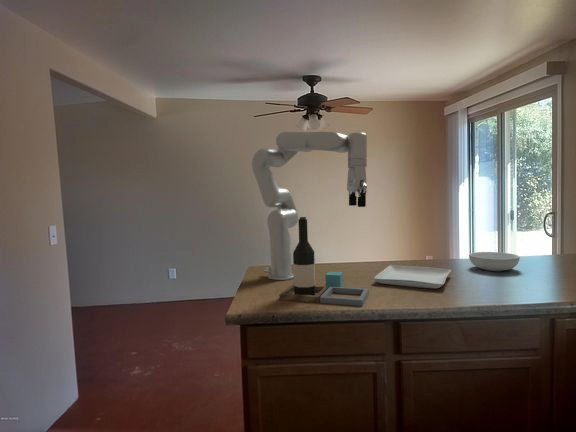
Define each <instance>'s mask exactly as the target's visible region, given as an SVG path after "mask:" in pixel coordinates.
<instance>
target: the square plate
mask: <svg viewBox="0 0 576 432" xmlns="http://www.w3.org/2000/svg"><path fill="white" fill-rule="evenodd" d="M451 272H452V269H450V268H449V269H448V268H438V267H429V266H417V265H397V264H396V265H395V264H394V265H388V266H387V267H386V268H384V269H383V270H382V271H380V272H378V273H377V274H376V275H375V276H374V277H373V280H374V281H375V282H377V283H379V284H383V285H388V286H389V285H390V286H391V285H392V286H399V287H411V288H419V289H436V290H437V289H439V288H441V287H442V286H443V285H444V284H445V283H446V280H447V277H448V276H449V274H450V273H451Z"/></svg>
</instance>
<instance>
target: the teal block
mask: <svg viewBox="0 0 576 432" xmlns="http://www.w3.org/2000/svg"><path fill="white" fill-rule="evenodd" d="M325 286H329V287H330V286H331V287H344V286H345V285H344V272H343V271H328V272H326V273H325Z"/></svg>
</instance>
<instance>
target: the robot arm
mask: <svg viewBox="0 0 576 432" xmlns="http://www.w3.org/2000/svg"><path fill="white" fill-rule="evenodd" d="M275 144H276V146H277V147H278V148H269V147H263V148H260V149H258V150H257V151H256V152H255V153H254V155H253V157H252V160H251V169H252V172H253V174H254V178H255V179H256V182H257V183H256V184H257V185H258V188H259V192H260V195H261V197H262V198H261V199H262V201H263V204H264V205H265V206H266V207H268V208H271V209H272V208H273V209H274V208H276V209H274V210H272V211H271V212H270V213H269V214H268V216H267V220H266V221H267V222H266V224H267V228H268V235H269V246H270V247H269V252H270V253H269V254H270V267H263V269H262V270H263V272H264V273H268V275H267V278H268V279H269V280H273V281H286V280H292V279H294V272H292V250H291V246H292V245H291V244H292V243H291V235H290V231H289V229H291V228H294V227H295V226H296V225H297V224H298V223H299V222H298V220H299V214H298V211H297V207H296V204H295V202H294V199H293V196H292V194H291V192H290V191H289V190H288V189H287V188H285V187H283V186H279V185H278V183H277V180H276V177H275V175H274V173H273V172H272V170H271V169H270V168H281V167H283V166H285V165H286V164H287V163H288V162H289V161H290V160H291V159H293V157H295V155H297V153H300V152H301V153H302V152H304V153H309V152H310V153H311V152H312V151H325V152H327V151H328V152H333V153H334V152H336V153H340V154H343V153H347V170H348V171H347V180H346V181H347V183H346V190H347V191H348V206H349V207H351V206H355V207H356V206H357V207H358V208H365V207H366V206H367V205H366V204H367V202H366V201H367V200H366V198H367V188H368V185H367V170H366V168H367V165H368V164H367V162H368V157H367V156H368V154H367V153H368V152H367V151H368V136H367V134H366V133H365V132H359V131H358V132H351V133H349V134H343V133H339V132H335V131H282V132H280V133H278V134H277V136H276V138H275ZM357 195H358V196H357Z"/></svg>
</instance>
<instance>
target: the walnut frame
mask: <svg viewBox="0 0 576 432" xmlns="http://www.w3.org/2000/svg"><path fill="white" fill-rule="evenodd" d="M328 288H329V286H326V285H315V293H317V292H318V293H317V294H315V296H313V295H299V294H294V283H293V284H291V285H290V286H288V287H287V288H285V290H283V291H281V292H280V293H279V300H280V299H281V300H282V301H291V300H293V301H292V302H295V301H296V302H304V301H305V302H306V303H317V304H319V303H320V297H321V296H322V295H323V293H324V292H325V291H326V290H327V289H328ZM281 300H280V301H281Z"/></svg>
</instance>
